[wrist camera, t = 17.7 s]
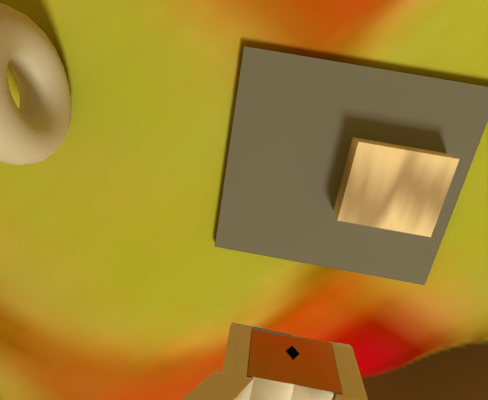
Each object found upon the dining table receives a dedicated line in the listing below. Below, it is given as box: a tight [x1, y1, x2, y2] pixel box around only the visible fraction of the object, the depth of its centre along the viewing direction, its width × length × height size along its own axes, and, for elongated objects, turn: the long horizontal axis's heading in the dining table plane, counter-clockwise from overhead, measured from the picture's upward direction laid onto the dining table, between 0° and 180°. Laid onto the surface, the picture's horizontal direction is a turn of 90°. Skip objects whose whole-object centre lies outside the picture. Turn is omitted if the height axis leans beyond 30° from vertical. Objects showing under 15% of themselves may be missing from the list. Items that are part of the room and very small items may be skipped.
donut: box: [0, 3, 71, 165], centre depth 23 cm, size 10×4×10 cm, turn 3°
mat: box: [215, 46, 488, 285], centre depth 28 cm, size 16×18×1 cm
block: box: [334, 137, 460, 237], centre depth 27 cm, size 6×2×7 cm
